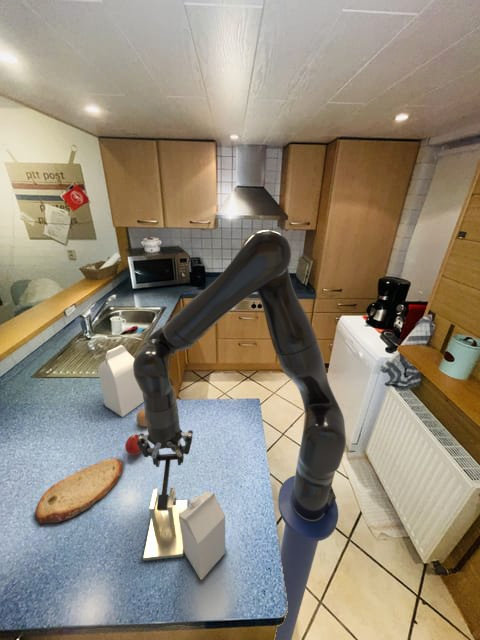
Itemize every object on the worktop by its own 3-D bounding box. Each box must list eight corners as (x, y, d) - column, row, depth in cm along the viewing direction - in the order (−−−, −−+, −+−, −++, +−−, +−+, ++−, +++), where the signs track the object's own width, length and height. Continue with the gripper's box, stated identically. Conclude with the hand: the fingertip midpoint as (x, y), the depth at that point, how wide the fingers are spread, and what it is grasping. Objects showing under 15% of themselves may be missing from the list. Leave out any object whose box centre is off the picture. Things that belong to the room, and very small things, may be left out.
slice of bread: (127, 461, 80) (125, 453, 79) (96, 526, 64) (93, 518, 63) (72, 459, 81) (69, 451, 79) (27, 523, 64) (22, 515, 63)
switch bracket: (154, 505, 69) (148, 474, 64) (187, 502, 70) (184, 471, 65) (143, 560, 58) (135, 529, 53) (182, 556, 59) (178, 525, 54)
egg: (154, 426, 93) (151, 412, 90) (138, 432, 91) (136, 417, 88) (151, 416, 98) (149, 403, 95) (137, 421, 95) (134, 407, 93)
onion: (124, 452, 83) (120, 435, 80) (140, 442, 87) (137, 425, 84) (131, 464, 80) (127, 446, 76) (148, 452, 84) (145, 435, 80)
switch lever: (160, 456, 68) (158, 453, 66) (178, 455, 68) (177, 451, 67) (152, 511, 59) (150, 509, 57) (174, 510, 59) (172, 507, 58)
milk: (122, 417, 97) (109, 360, 87) (104, 405, 103) (90, 351, 92) (147, 399, 107) (138, 346, 96) (130, 389, 112) (120, 338, 101)
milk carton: (225, 553, 60) (225, 504, 52) (201, 581, 55) (196, 532, 47) (207, 527, 64) (204, 480, 57) (183, 551, 60) (176, 503, 52)
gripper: (193, 403, 64) (196, 449, 71) (136, 406, 63) (145, 452, 70) (191, 426, 58) (195, 474, 65) (126, 430, 56) (137, 479, 63)
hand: (169, 462), depth 67 cm, fingers closed on switch lever, 5 cm apart
